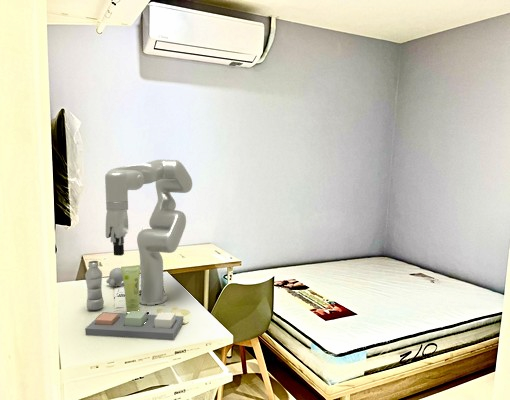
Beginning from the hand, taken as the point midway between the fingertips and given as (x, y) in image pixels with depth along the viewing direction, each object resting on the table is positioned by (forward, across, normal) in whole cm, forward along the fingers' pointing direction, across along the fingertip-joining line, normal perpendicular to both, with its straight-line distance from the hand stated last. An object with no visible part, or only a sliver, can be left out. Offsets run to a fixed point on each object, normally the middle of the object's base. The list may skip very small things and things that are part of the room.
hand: (118, 254), depth 152 cm
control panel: (+27, +3, +7) cm, 28 cm away
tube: (+27, -11, 0) cm, 29 cm away
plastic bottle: (+27, -12, -16) cm, 34 cm away
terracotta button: (+27, +3, -4) cm, 27 cm away
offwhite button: (+25, +3, +18) cm, 31 cm away
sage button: (+25, +3, +7) cm, 26 cm away
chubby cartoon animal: (+27, -40, -17) cm, 51 cm away
